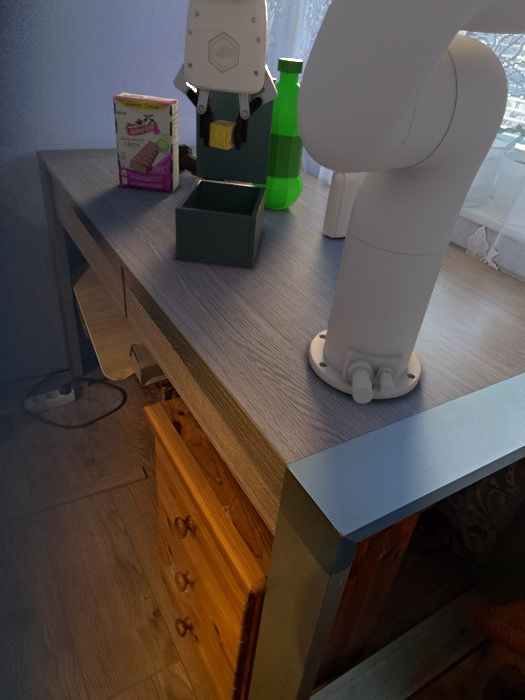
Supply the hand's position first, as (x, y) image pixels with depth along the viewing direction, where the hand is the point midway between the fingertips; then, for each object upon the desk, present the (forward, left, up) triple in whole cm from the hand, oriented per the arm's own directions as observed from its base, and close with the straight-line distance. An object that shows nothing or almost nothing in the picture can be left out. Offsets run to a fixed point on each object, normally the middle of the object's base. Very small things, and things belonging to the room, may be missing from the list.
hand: (223, 144), depth 67 cm
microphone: (+35, +11, -16) cm, 40 cm away
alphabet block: (0, 0, 0) cm, 0 cm away
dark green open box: (+2, 0, -16) cm, 16 cm away
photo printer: (+14, -21, -16) cm, 30 cm away
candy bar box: (+26, +19, -16) cm, 36 cm away
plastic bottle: (+24, -7, -16) cm, 30 cm away
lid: (+9, 0, 0) cm, 9 cm away
